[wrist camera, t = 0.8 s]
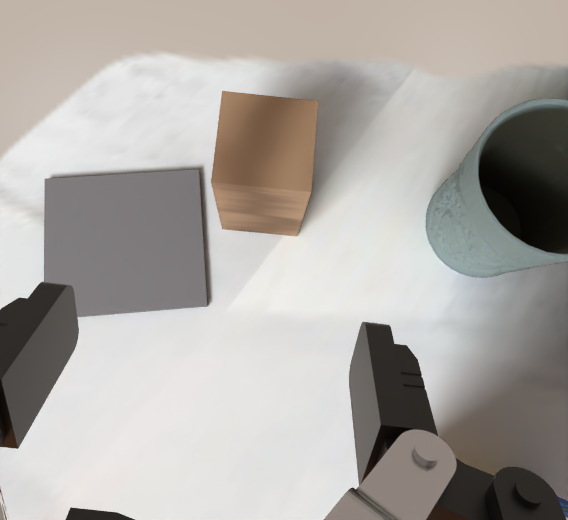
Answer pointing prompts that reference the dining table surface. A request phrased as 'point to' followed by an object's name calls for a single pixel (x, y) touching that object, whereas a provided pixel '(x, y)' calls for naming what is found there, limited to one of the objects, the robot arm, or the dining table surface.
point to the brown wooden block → (264, 162)
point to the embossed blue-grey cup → (507, 195)
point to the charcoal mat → (126, 241)
